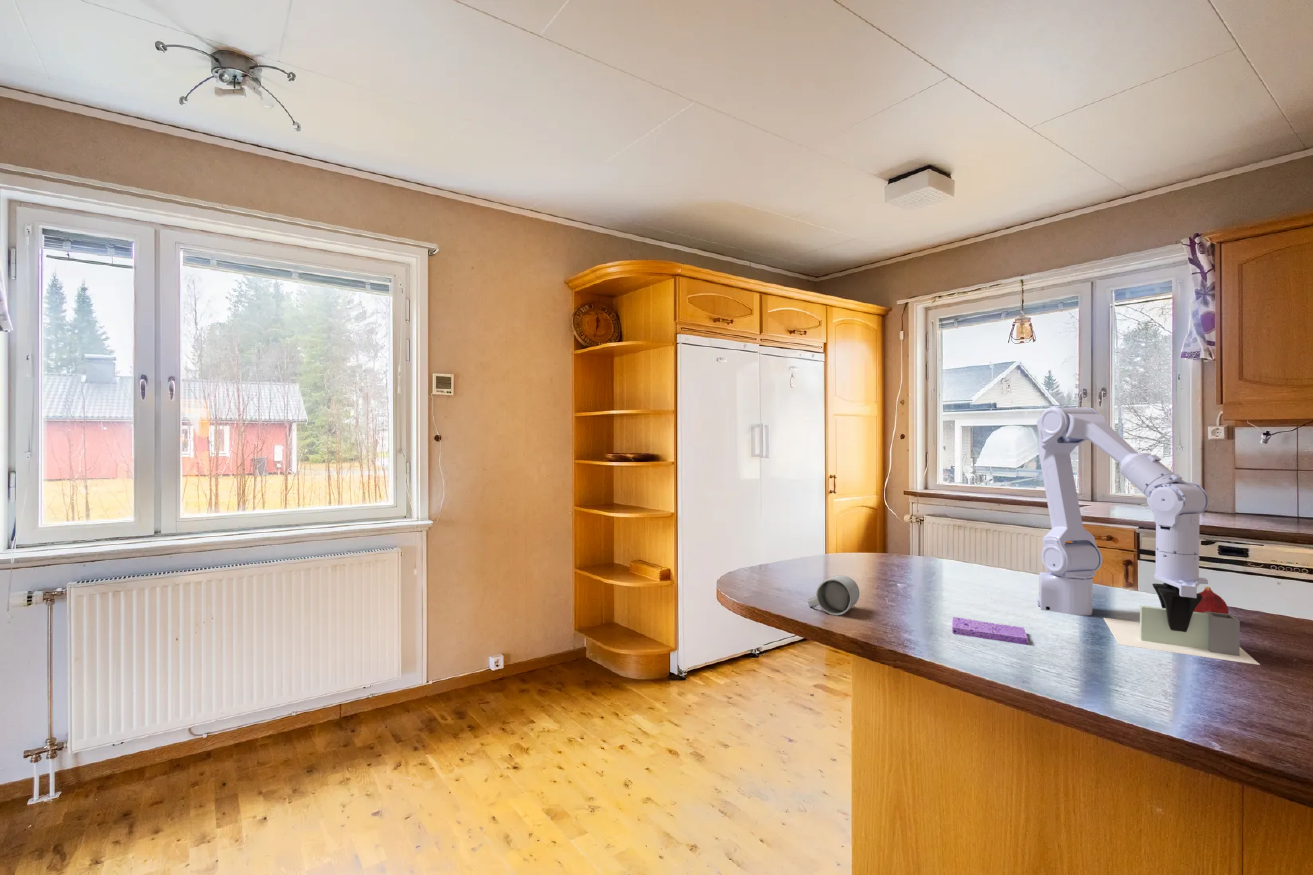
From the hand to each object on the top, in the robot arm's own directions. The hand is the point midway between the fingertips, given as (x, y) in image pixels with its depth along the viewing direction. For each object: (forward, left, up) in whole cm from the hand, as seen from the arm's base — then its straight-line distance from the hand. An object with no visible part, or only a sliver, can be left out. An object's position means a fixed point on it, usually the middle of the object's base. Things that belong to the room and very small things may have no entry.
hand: (1176, 628), depth 103 cm
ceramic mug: (-58, -5, -5) cm, 59 cm away
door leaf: (+1, 0, -3) cm, 3 cm away
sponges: (-29, -5, -5) cm, 30 cm away
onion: (+9, +21, -4) cm, 23 cm away
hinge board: (0, +3, -4) cm, 6 cm away
